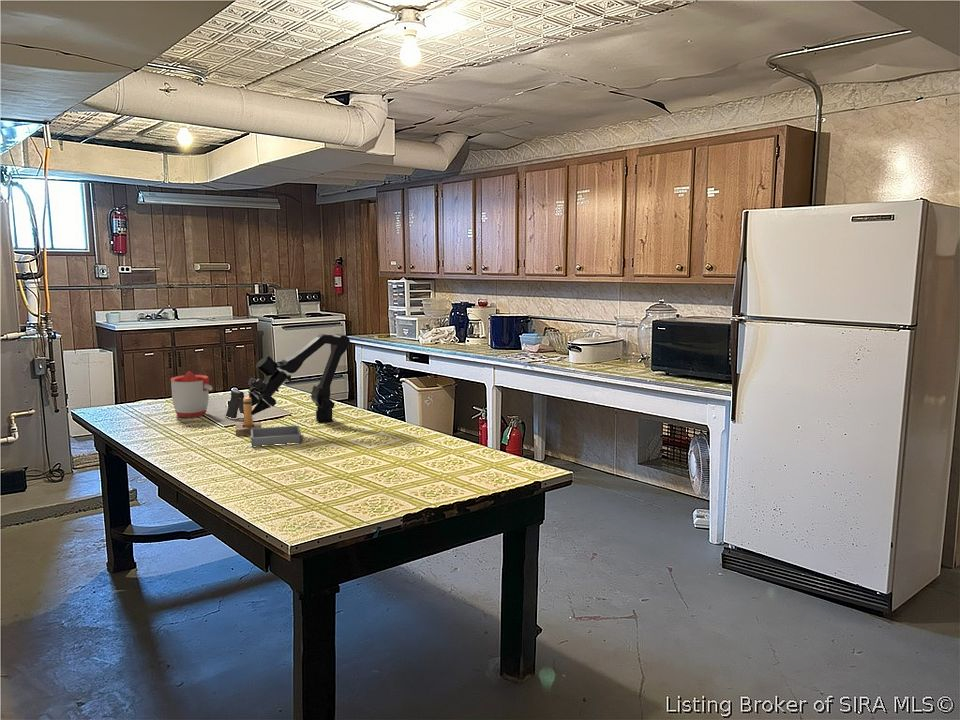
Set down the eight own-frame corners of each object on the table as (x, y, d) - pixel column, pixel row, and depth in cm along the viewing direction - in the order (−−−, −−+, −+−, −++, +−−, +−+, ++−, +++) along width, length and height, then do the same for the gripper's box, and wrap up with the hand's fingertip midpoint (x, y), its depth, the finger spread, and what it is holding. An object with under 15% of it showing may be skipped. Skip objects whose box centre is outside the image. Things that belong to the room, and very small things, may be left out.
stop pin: (252, 430, 286) (251, 397, 284) (253, 432, 283) (251, 399, 281) (244, 430, 285) (243, 397, 283) (244, 433, 282) (243, 399, 280)
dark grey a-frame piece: (232, 420, 302) (231, 393, 300) (225, 417, 306) (224, 391, 304) (251, 416, 308) (250, 390, 306) (244, 414, 312) (243, 388, 310)
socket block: (261, 427, 290) (260, 421, 290) (261, 434, 281) (261, 428, 281) (235, 429, 287) (235, 423, 287) (235, 435, 278) (235, 429, 278)
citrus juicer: (206, 419, 302) (204, 374, 298) (166, 419, 302) (163, 374, 298) (219, 411, 317) (217, 368, 314) (181, 410, 317) (179, 367, 314)
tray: (298, 433, 282) (298, 425, 282) (301, 443, 269) (301, 435, 268) (250, 437, 276) (250, 428, 276) (251, 447, 263) (251, 438, 262)
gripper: (252, 367, 291) (226, 395, 286) (267, 374, 276) (240, 404, 271) (271, 383, 297) (246, 411, 292) (287, 391, 282) (261, 421, 277)
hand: (248, 411), depth 283 cm, fingers open, 9 cm apart
